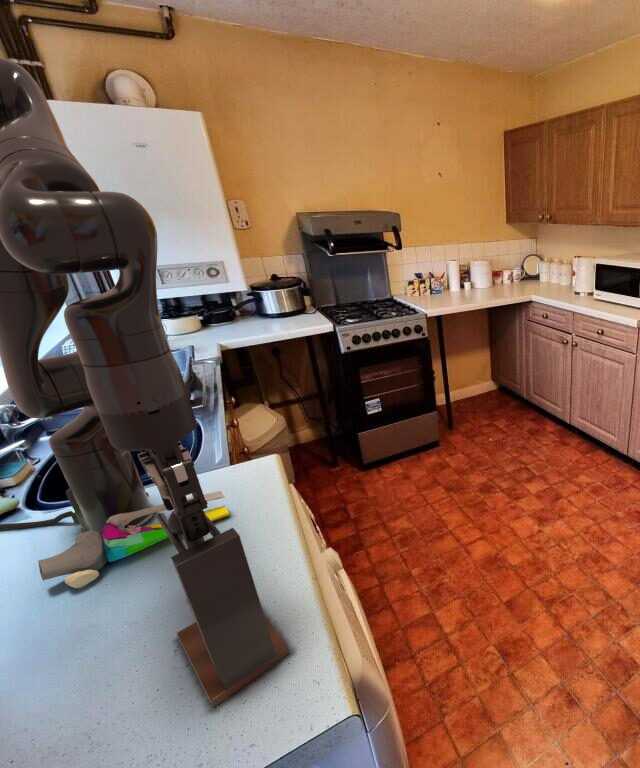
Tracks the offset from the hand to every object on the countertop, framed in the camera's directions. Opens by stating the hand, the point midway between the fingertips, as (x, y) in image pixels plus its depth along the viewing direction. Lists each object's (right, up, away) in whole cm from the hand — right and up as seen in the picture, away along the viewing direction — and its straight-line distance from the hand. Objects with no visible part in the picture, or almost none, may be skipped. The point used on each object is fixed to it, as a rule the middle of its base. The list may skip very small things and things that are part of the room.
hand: (187, 521), depth 52 cm
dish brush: (0, -15, +6) cm, 16 cm away
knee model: (-25, -13, +25) cm, 37 cm away
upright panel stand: (0, -19, +7) cm, 20 cm away
